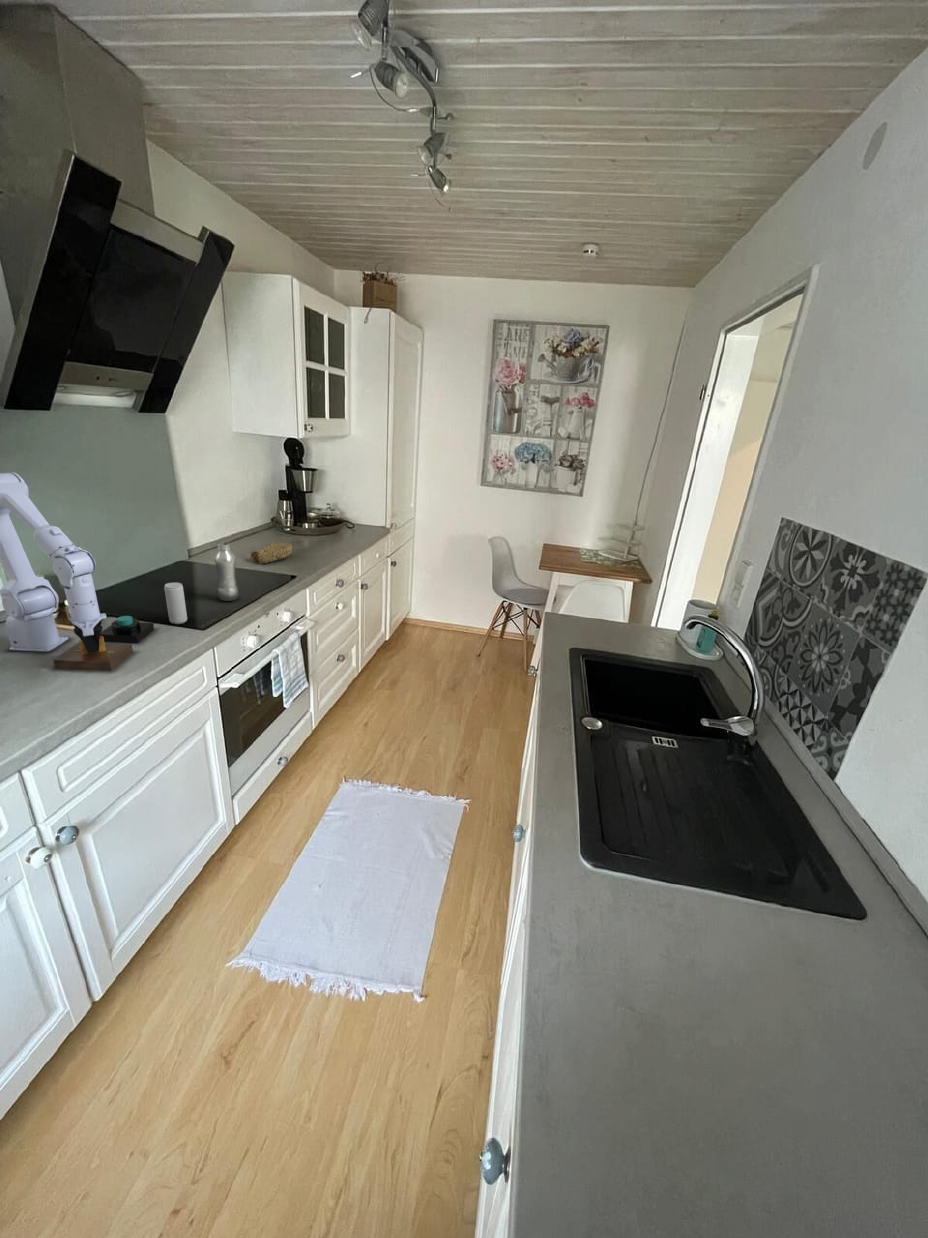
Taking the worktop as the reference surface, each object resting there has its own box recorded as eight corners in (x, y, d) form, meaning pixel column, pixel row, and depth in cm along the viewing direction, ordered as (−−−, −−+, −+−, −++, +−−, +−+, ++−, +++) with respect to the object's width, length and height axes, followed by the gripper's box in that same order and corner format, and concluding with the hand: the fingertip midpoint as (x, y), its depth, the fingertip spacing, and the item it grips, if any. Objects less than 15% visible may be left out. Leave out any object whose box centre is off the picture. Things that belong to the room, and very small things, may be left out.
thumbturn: (81, 655, 122) (78, 641, 120) (81, 652, 123) (78, 639, 121) (106, 651, 125) (103, 637, 123) (105, 648, 126) (102, 635, 124)
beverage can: (179, 625, 147) (174, 588, 142) (165, 623, 148) (160, 586, 143) (191, 620, 151) (186, 583, 147) (177, 617, 152) (172, 581, 147)
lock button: (115, 626, 135) (114, 620, 134) (122, 621, 138) (121, 615, 138) (128, 626, 136) (127, 621, 135) (135, 621, 139) (134, 616, 138)
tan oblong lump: (265, 569, 204) (304, 552, 217) (258, 552, 201) (298, 536, 214) (249, 566, 213) (288, 551, 226) (243, 550, 209) (282, 534, 222)
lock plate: (55, 668, 119) (52, 659, 118) (81, 650, 129) (78, 641, 127) (111, 671, 121) (109, 661, 120) (133, 652, 130) (131, 643, 129)
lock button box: (99, 641, 134) (96, 628, 132) (118, 627, 142) (115, 615, 140) (138, 643, 135) (135, 630, 133) (154, 629, 143) (152, 617, 142)
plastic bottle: (213, 600, 167) (207, 543, 159) (229, 594, 173) (224, 540, 165) (228, 604, 165) (222, 547, 157) (243, 598, 171) (238, 543, 163)
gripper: (104, 608, 115) (114, 658, 121) (100, 588, 126) (110, 636, 131) (66, 613, 111) (79, 665, 117) (66, 592, 122) (77, 640, 127)
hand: (93, 650), depth 124 cm, fingers closed on thumbturn, 2 cm apart
